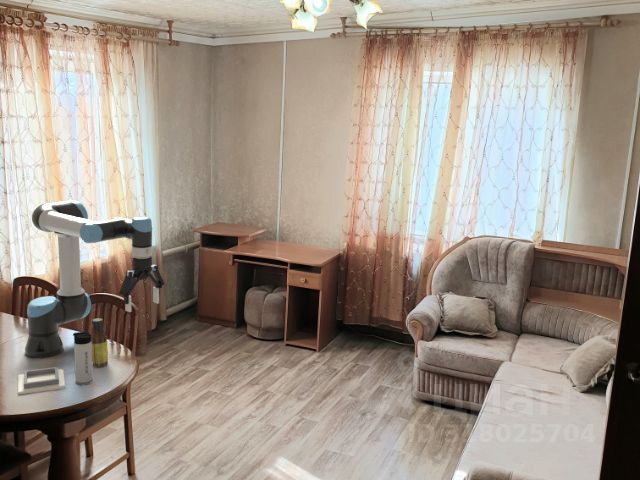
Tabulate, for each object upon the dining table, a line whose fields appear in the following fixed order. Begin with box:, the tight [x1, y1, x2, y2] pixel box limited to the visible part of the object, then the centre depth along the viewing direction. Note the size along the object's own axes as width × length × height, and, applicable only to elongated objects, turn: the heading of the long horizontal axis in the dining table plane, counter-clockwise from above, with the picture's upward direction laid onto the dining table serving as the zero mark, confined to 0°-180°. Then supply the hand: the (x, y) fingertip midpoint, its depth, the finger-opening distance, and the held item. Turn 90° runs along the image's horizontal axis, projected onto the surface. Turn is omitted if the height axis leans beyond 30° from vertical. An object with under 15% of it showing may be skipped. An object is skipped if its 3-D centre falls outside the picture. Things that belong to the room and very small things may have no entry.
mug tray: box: [17, 366, 66, 396], centre depth 231 cm, size 16×16×3 cm
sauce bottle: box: [90, 317, 109, 368], centre depth 247 cm, size 7×6×20 cm
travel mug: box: [72, 331, 94, 386], centre depth 232 cm, size 6×7×20 cm
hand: (142, 306), depth 240 cm, fingers open, 13 cm apart
